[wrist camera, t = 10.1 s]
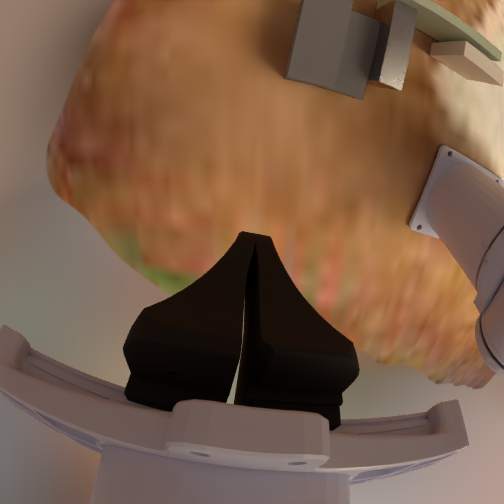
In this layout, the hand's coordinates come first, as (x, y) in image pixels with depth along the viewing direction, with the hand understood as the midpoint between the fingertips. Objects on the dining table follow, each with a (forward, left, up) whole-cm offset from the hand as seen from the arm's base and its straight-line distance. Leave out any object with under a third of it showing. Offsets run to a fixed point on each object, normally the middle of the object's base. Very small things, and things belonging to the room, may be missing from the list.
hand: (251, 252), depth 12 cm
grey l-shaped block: (-9, -12, -9) cm, 18 cm away
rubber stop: (-3, -11, -10) cm, 15 cm away
